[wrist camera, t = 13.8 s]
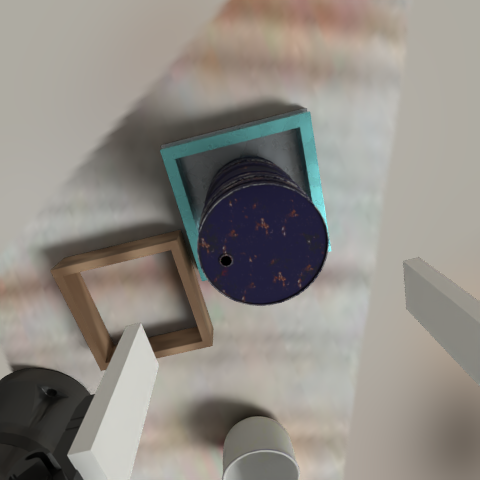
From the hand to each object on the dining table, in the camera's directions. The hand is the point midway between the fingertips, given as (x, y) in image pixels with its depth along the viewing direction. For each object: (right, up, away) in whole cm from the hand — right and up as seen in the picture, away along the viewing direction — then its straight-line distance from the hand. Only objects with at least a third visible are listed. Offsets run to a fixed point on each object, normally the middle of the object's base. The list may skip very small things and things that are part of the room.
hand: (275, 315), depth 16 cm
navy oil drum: (-1, +9, +22) cm, 23 cm away
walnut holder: (-14, -4, +27) cm, 31 cm away
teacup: (+2, -28, +37) cm, 47 cm away
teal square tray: (-1, +9, +23) cm, 24 cm away
